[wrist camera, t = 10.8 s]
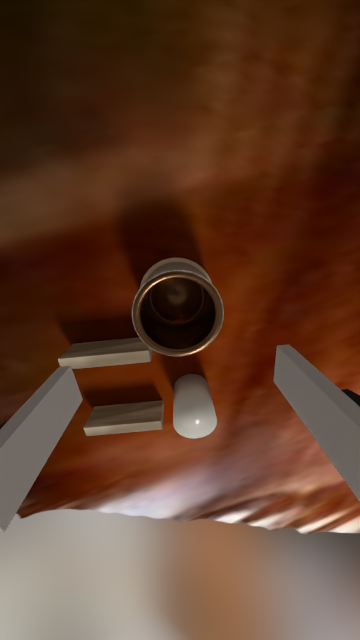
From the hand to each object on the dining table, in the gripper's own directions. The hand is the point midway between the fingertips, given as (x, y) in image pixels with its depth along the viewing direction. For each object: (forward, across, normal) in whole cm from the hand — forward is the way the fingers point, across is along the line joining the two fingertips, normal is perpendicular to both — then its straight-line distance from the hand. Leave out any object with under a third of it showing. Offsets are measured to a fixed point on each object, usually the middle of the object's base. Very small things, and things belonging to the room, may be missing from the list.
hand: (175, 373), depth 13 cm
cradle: (+21, -12, -15) cm, 28 cm away
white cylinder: (+21, +1, -19) cm, 28 cm away
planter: (+20, 0, 0) cm, 20 cm away
